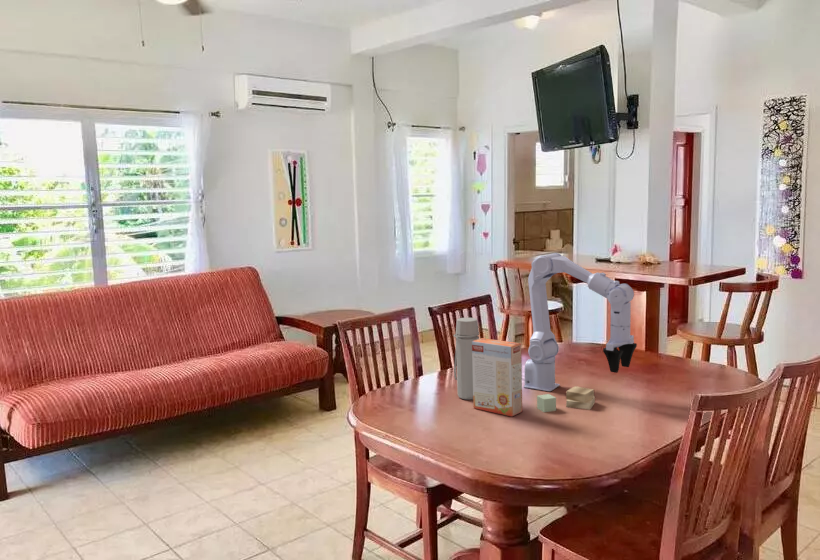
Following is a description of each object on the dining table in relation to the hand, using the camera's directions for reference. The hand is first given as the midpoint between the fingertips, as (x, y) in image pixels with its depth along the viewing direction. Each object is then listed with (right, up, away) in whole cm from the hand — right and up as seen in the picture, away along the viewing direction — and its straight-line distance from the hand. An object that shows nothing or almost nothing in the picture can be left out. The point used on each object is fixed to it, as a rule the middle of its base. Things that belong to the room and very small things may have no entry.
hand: (619, 369), depth 203 cm
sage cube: (-23, -12, -4) cm, 26 cm away
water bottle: (-45, -10, +11) cm, 48 cm away
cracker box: (-37, -12, -3) cm, 39 cm away
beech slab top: (-12, -9, -1) cm, 15 cm away
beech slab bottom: (-12, -11, 0) cm, 16 cm away
